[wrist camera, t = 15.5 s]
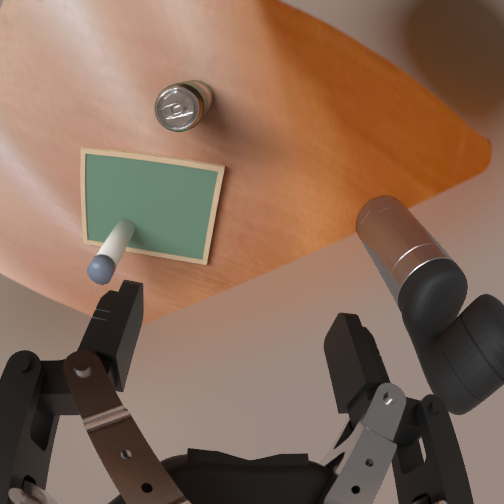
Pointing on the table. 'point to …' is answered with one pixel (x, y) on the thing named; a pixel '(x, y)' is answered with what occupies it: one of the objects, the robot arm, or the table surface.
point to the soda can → (183, 105)
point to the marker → (111, 252)
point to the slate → (150, 201)
